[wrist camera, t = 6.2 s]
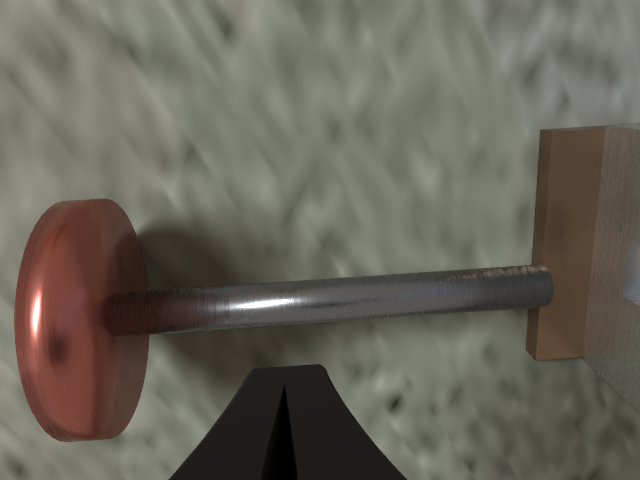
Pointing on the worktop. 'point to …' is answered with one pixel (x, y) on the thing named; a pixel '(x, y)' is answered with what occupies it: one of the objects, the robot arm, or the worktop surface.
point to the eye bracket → (590, 252)
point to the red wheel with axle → (186, 312)
